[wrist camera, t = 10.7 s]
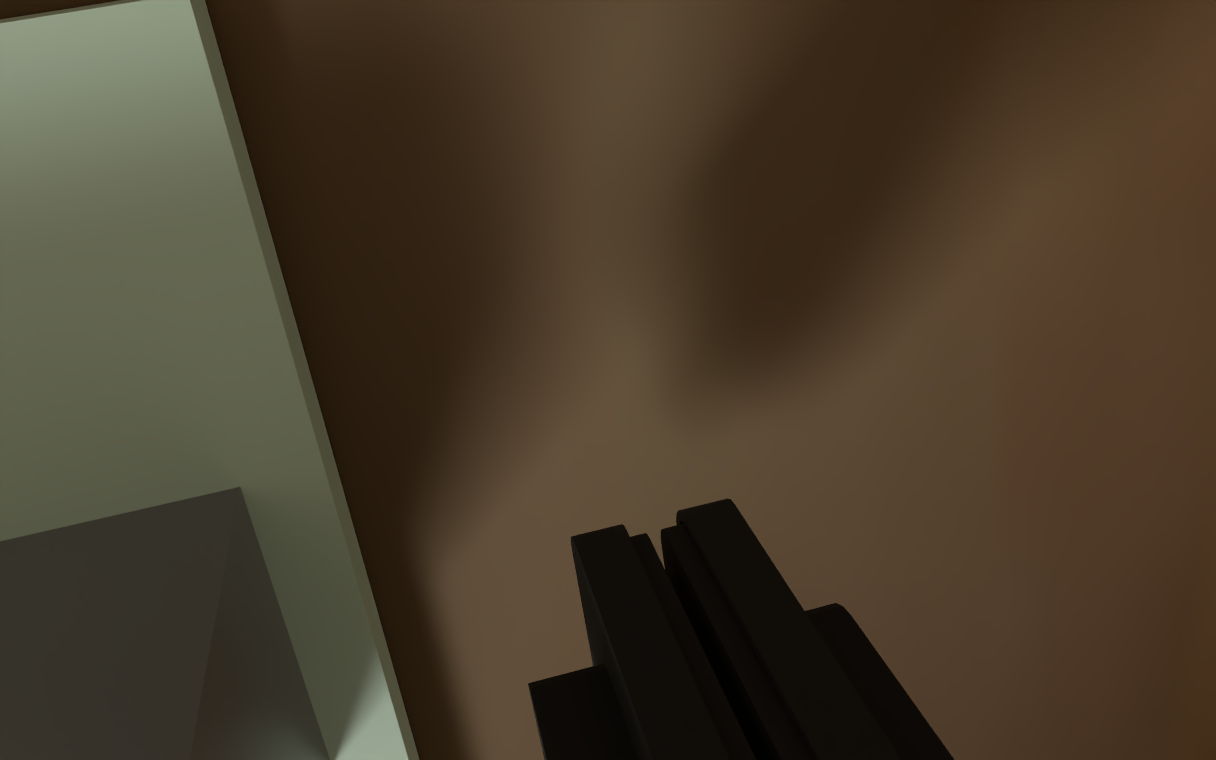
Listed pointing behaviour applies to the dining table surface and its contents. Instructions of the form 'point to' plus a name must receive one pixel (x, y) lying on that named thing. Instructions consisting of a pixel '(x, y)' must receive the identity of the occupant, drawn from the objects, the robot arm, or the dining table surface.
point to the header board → (168, 331)
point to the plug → (149, 642)
